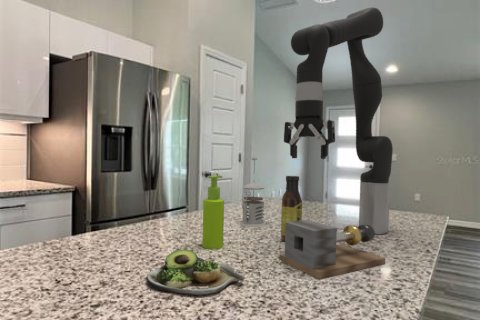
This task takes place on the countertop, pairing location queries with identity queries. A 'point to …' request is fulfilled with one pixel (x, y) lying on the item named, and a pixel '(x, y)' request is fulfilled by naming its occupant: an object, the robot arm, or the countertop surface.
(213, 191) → the soap dispenser
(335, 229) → the bearing block
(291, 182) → the sauce bottle
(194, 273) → the salad plate
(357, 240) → the shaft
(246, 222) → the french press
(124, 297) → the countertop surface
